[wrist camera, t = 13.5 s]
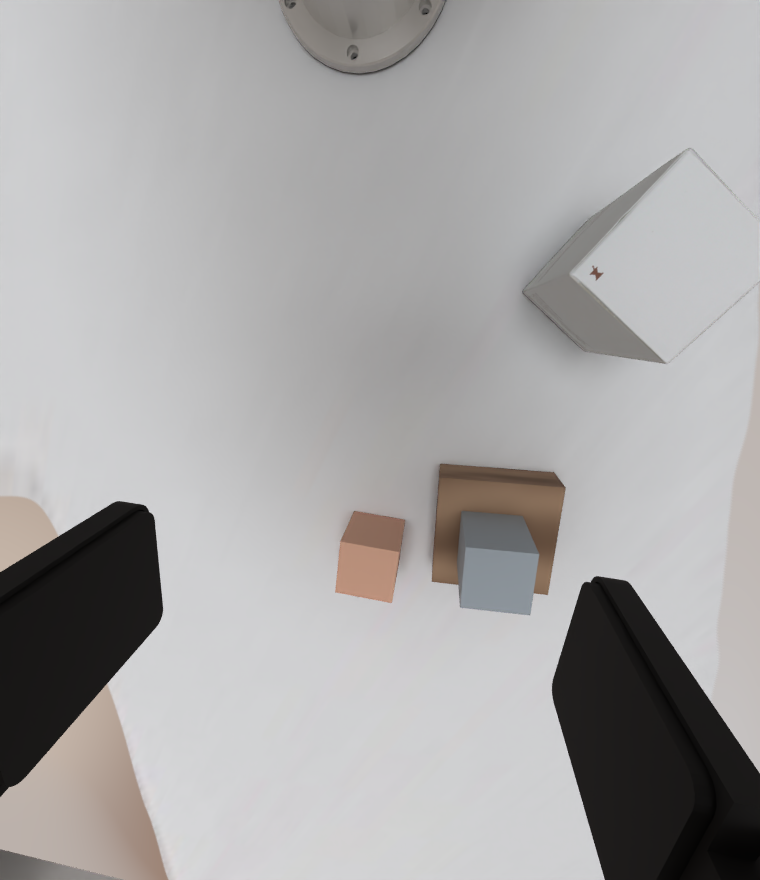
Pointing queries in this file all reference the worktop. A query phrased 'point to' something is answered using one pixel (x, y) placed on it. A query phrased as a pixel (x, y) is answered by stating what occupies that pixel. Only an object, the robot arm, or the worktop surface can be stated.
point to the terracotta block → (370, 556)
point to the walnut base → (496, 512)
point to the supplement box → (653, 265)
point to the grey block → (496, 563)
